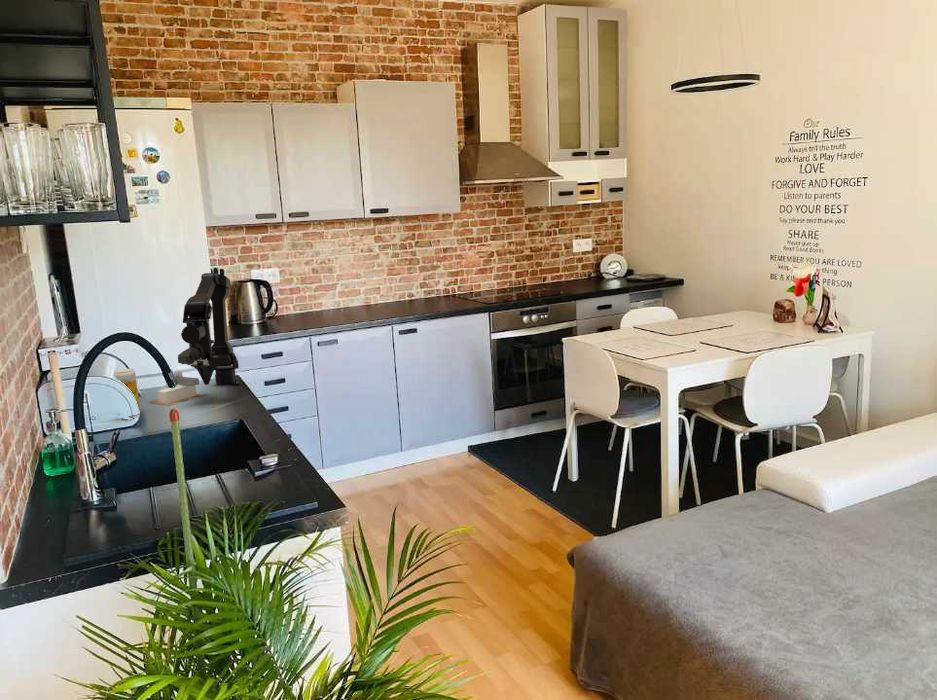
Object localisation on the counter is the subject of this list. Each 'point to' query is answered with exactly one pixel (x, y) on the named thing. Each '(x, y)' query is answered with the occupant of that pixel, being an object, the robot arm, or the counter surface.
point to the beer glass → (128, 381)
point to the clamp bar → (187, 380)
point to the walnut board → (175, 401)
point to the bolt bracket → (176, 375)
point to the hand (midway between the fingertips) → (206, 384)
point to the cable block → (176, 393)
